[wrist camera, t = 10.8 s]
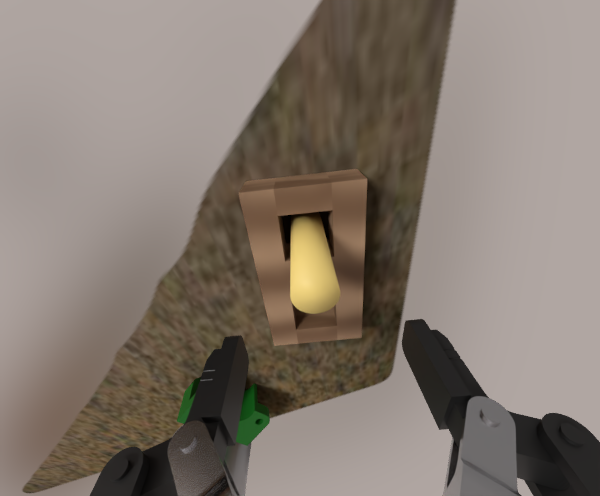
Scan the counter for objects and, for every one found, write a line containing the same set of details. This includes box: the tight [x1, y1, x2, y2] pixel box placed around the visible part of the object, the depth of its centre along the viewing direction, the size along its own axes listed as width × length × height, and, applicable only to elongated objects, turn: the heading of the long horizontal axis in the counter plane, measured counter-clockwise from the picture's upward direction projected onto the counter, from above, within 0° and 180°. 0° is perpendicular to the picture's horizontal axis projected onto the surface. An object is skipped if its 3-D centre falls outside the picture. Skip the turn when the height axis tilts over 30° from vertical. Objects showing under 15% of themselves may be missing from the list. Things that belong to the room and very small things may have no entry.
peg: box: [290, 212, 340, 314], centre depth 19 cm, size 3×3×11 cm
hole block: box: [238, 169, 367, 346], centre depth 25 cm, size 18×10×4 cm, turn 6°
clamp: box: [177, 378, 270, 446], centre depth 35 cm, size 12×6×9 cm, turn 41°
